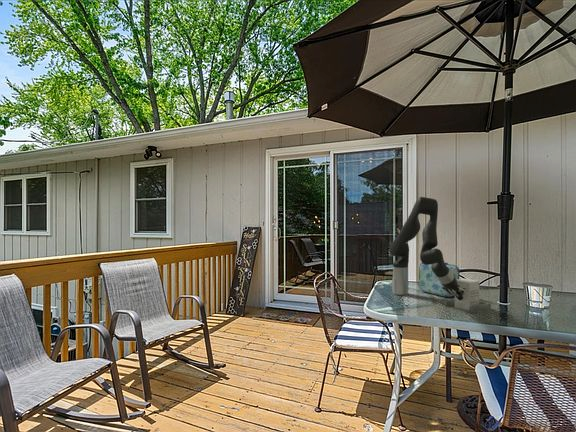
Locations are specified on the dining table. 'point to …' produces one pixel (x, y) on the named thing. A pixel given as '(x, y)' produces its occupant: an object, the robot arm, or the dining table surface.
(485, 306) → the tray
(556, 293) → the dining table surface
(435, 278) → the lunch box
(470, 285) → the supplement box
